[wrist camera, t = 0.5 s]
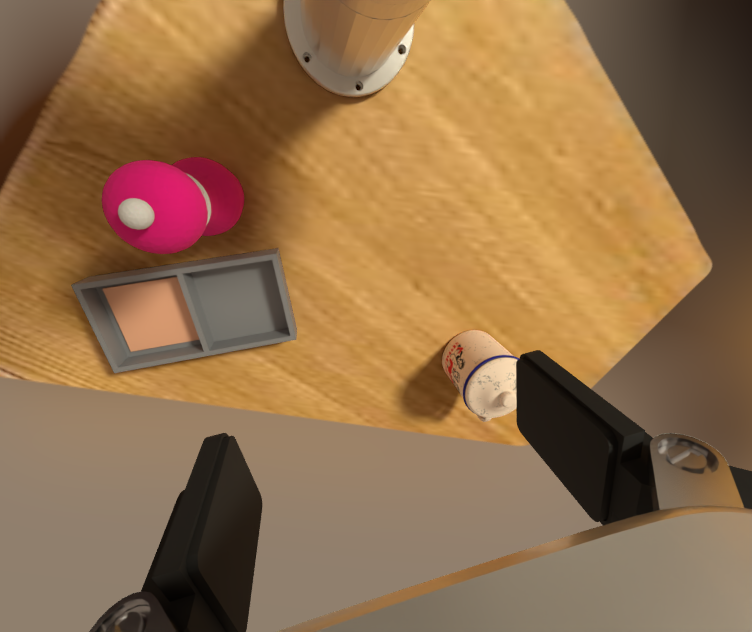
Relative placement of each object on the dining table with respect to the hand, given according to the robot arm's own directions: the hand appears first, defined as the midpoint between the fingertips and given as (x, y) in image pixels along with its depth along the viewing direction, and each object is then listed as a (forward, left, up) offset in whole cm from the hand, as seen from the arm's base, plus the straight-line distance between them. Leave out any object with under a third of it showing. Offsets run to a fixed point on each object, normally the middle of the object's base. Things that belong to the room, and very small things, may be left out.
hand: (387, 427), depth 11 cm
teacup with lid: (+21, +18, -34) cm, 44 cm away
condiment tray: (+5, -16, -34) cm, 38 cm away
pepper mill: (-7, -11, -34) cm, 36 cm away
